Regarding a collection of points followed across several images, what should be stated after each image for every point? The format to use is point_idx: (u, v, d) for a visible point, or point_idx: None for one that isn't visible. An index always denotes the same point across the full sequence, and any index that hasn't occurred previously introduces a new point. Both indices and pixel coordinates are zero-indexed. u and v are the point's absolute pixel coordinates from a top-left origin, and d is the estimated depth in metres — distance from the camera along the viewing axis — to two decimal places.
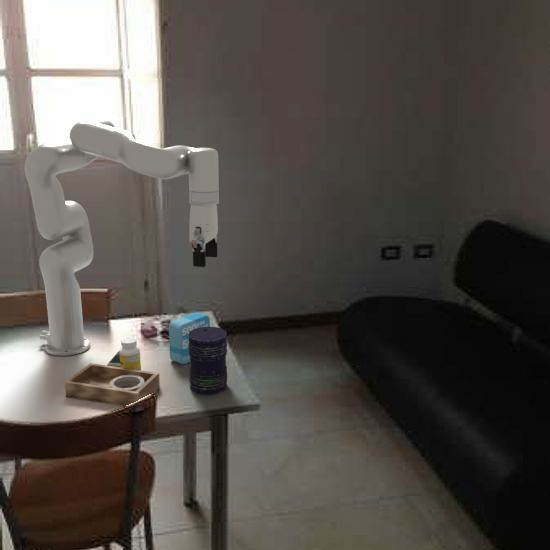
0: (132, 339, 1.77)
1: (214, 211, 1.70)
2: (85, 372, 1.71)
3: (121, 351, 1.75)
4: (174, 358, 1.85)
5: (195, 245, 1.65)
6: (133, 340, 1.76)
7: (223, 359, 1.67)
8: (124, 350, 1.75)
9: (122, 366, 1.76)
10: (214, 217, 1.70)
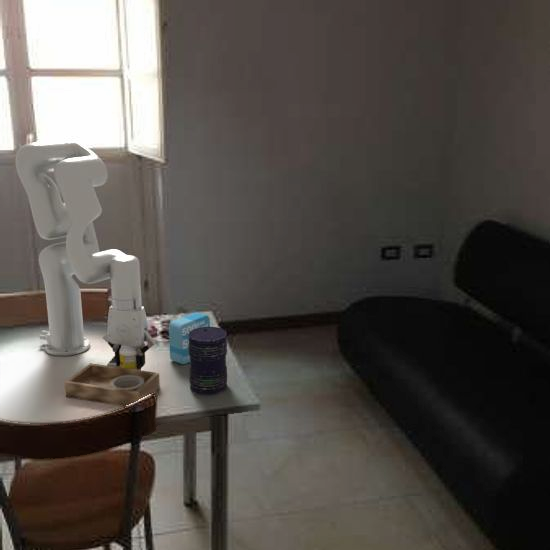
0: None
1: None
2: (85, 372, 1.71)
3: (121, 351, 1.75)
4: (174, 358, 1.85)
5: (150, 347, 1.75)
6: None
7: (223, 359, 1.67)
8: (124, 350, 1.75)
9: (122, 366, 1.76)
10: None
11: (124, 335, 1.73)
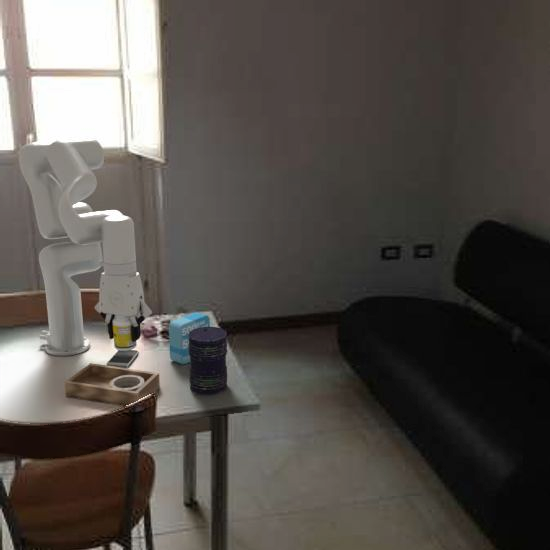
0: None
1: None
2: (85, 372, 1.71)
3: (114, 321, 1.60)
4: (174, 358, 1.85)
5: (146, 317, 1.59)
6: None
7: (223, 359, 1.67)
8: (118, 320, 1.59)
9: (116, 338, 1.60)
10: None
11: (117, 304, 1.57)
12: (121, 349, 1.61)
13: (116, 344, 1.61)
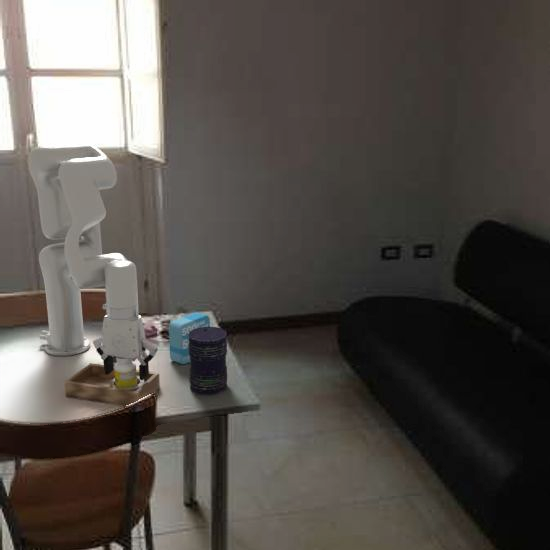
0: None
1: None
2: (85, 372, 1.71)
3: (116, 367, 1.63)
4: (174, 358, 1.85)
5: (154, 355, 1.62)
6: None
7: (223, 359, 1.67)
8: (119, 366, 1.63)
9: (117, 383, 1.64)
10: None
11: (120, 346, 1.61)
12: None
13: None
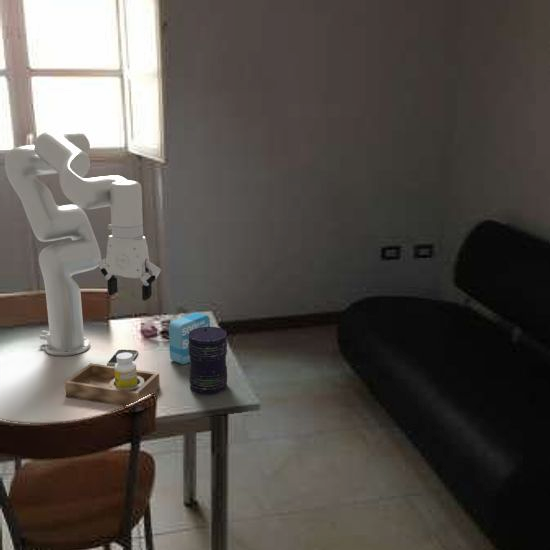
0: (128, 354, 1.65)
1: None
2: (85, 372, 1.71)
3: (116, 367, 1.63)
4: (174, 358, 1.85)
5: (157, 276, 1.64)
6: (129, 355, 1.64)
7: (223, 359, 1.67)
8: (119, 366, 1.63)
9: (117, 383, 1.64)
10: None
11: (123, 266, 1.63)
12: None
13: None
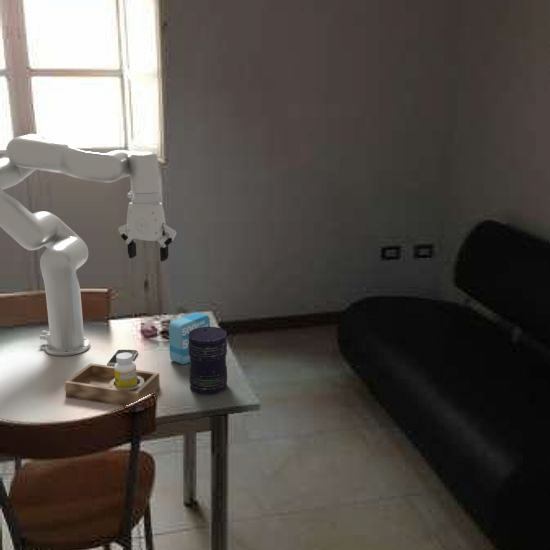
0: (128, 354, 1.65)
1: None
2: (85, 372, 1.71)
3: (116, 367, 1.63)
4: (174, 358, 1.85)
5: (173, 238, 1.81)
6: (129, 355, 1.64)
7: (223, 359, 1.67)
8: (119, 366, 1.63)
9: (117, 383, 1.64)
10: None
11: (143, 229, 1.79)
12: None
13: None
